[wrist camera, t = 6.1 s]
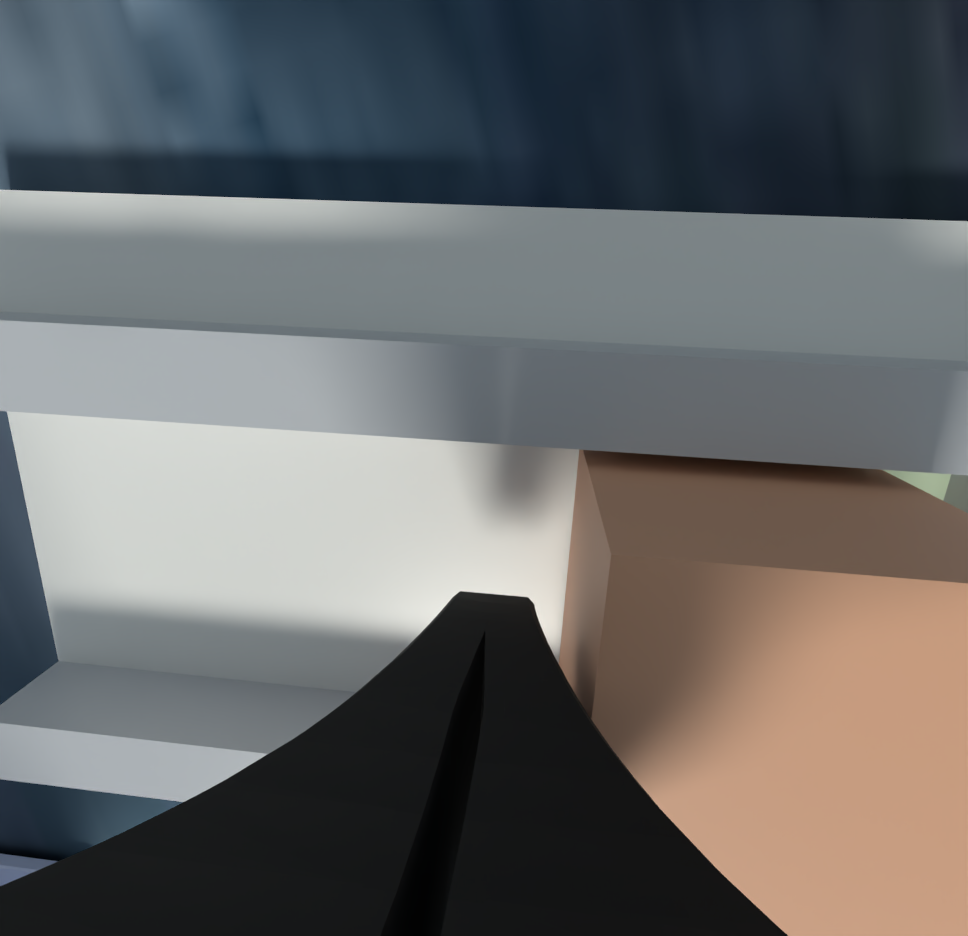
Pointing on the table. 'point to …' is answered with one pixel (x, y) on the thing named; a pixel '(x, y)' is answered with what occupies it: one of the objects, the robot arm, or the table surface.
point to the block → (784, 677)
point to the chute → (399, 428)
